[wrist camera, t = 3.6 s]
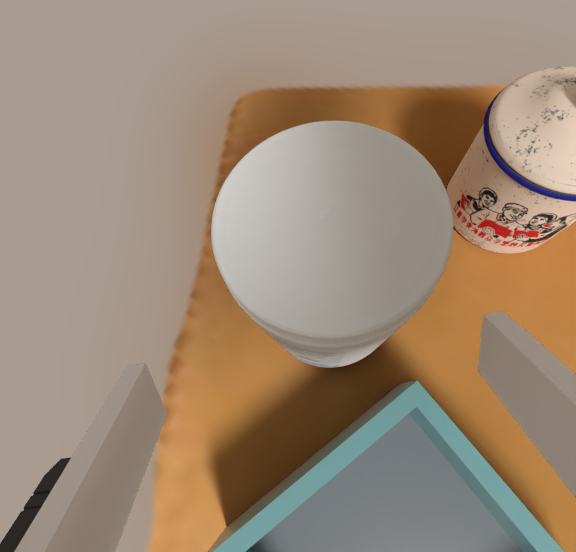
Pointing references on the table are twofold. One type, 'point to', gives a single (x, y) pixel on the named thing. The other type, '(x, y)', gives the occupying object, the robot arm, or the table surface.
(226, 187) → the supplement tub
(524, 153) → the teacup with lid
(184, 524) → the table surface
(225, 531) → the open square box
